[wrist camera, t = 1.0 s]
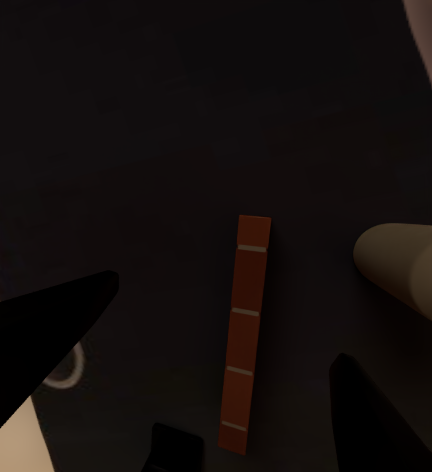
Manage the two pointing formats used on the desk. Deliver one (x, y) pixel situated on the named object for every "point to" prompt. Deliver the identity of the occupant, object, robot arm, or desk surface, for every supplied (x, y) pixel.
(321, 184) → the desk surface
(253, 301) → the brick wall
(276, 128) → the desk surface
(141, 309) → the desk surface
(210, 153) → the desk surface
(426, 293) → the candle
